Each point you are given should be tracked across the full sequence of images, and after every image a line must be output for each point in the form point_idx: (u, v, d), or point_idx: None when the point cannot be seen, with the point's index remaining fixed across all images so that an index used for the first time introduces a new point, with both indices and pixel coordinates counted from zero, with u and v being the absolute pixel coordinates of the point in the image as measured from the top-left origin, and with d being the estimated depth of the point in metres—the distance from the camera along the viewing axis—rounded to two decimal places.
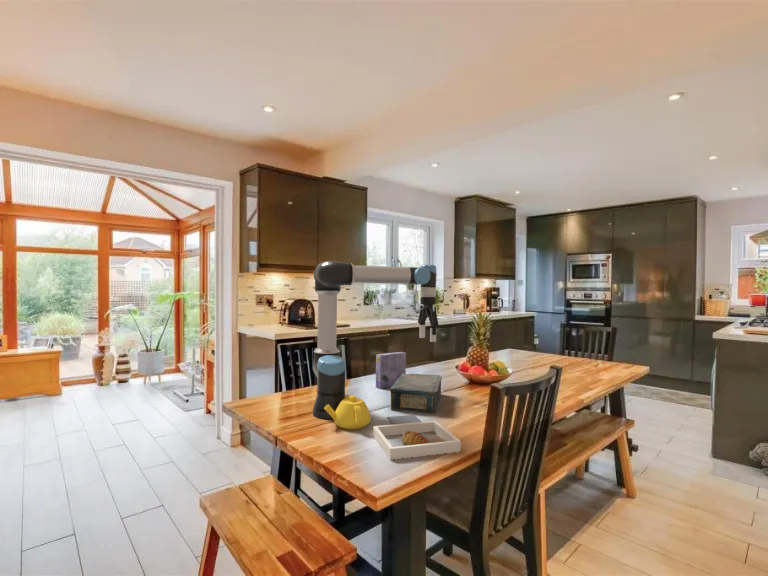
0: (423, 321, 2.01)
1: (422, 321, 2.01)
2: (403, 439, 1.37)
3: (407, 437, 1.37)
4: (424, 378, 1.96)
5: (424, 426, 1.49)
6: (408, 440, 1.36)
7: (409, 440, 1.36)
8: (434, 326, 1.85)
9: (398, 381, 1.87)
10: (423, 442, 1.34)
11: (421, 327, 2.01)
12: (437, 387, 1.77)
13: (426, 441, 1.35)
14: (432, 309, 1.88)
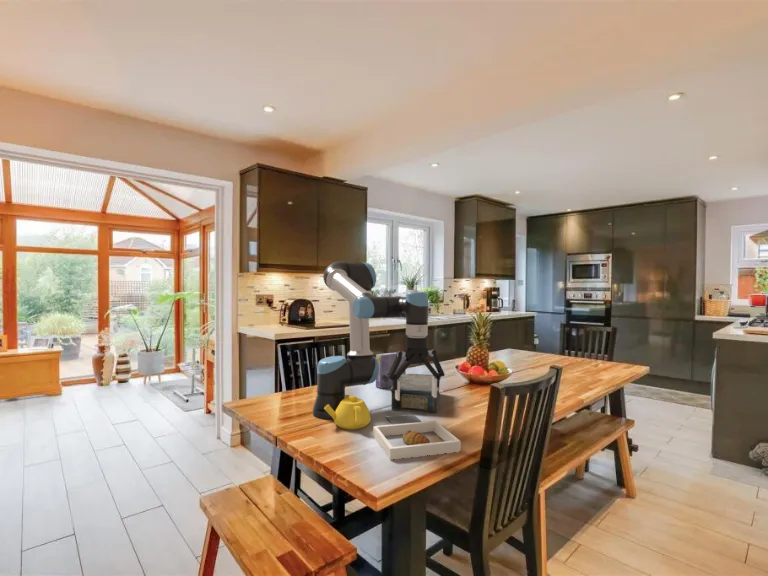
0: (432, 373, 1.39)
1: (431, 372, 1.40)
2: (404, 438, 1.38)
3: (408, 437, 1.37)
4: (423, 378, 1.96)
5: (424, 426, 1.49)
6: (409, 439, 1.37)
7: (411, 439, 1.36)
8: None
9: None
10: (425, 441, 1.35)
11: (432, 380, 1.40)
12: (437, 387, 1.78)
13: (427, 440, 1.36)
14: (397, 354, 1.36)
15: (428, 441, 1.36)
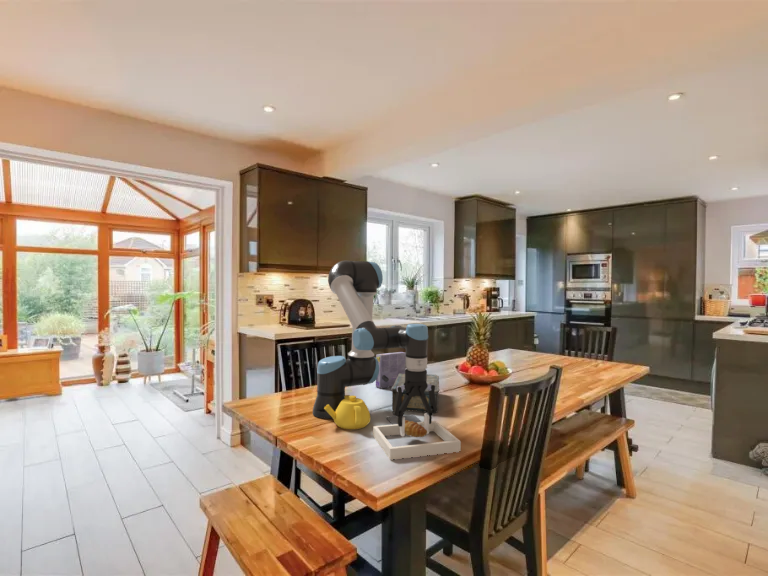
0: (425, 408, 1.39)
1: (425, 407, 1.40)
2: None
3: (405, 426, 1.38)
4: None
5: None
6: (406, 429, 1.37)
7: (407, 429, 1.37)
8: None
9: (397, 381, 1.87)
10: (421, 431, 1.36)
11: (425, 417, 1.40)
12: (438, 386, 1.78)
13: (424, 430, 1.37)
14: (396, 389, 1.37)
15: (425, 431, 1.37)
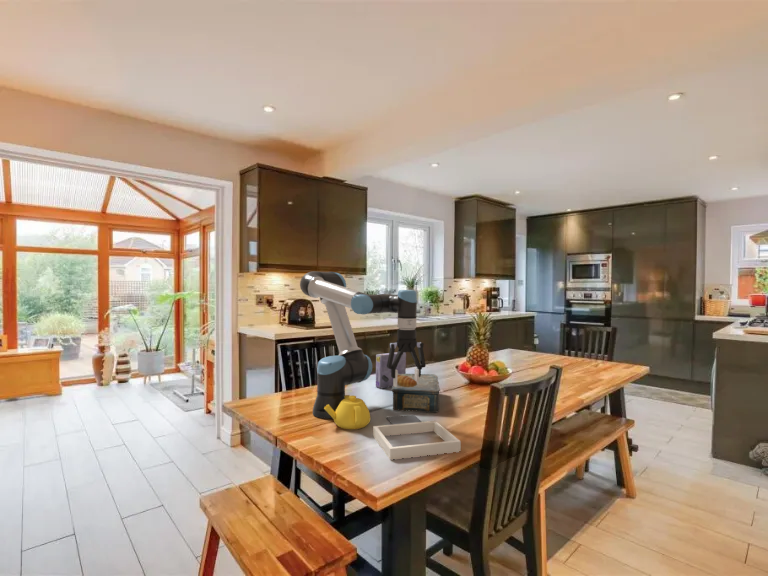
0: (415, 363, 1.60)
1: (415, 362, 1.60)
2: None
3: (398, 379, 1.59)
4: (420, 378, 1.97)
5: (424, 426, 1.49)
6: (399, 381, 1.58)
7: (400, 381, 1.58)
8: (387, 367, 1.58)
9: None
10: (412, 382, 1.57)
11: (415, 371, 1.61)
12: (438, 386, 1.78)
13: (414, 381, 1.58)
14: (390, 346, 1.58)
15: (415, 382, 1.58)
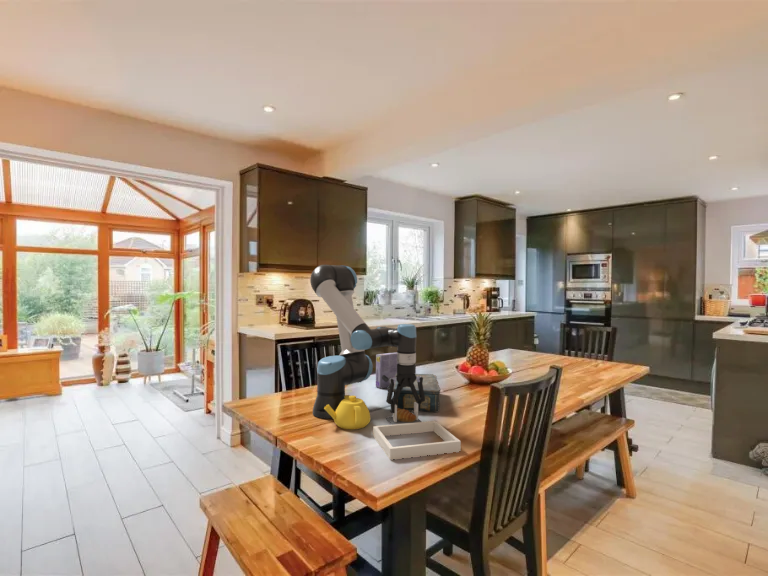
0: (415, 397, 1.60)
1: None
2: None
3: (398, 413, 1.59)
4: None
5: (424, 426, 1.49)
6: (398, 415, 1.58)
7: (399, 415, 1.58)
8: (386, 401, 1.58)
9: (396, 381, 1.87)
10: (411, 416, 1.57)
11: (414, 405, 1.61)
12: (438, 386, 1.79)
13: (413, 416, 1.58)
14: (389, 381, 1.58)
15: (414, 417, 1.58)
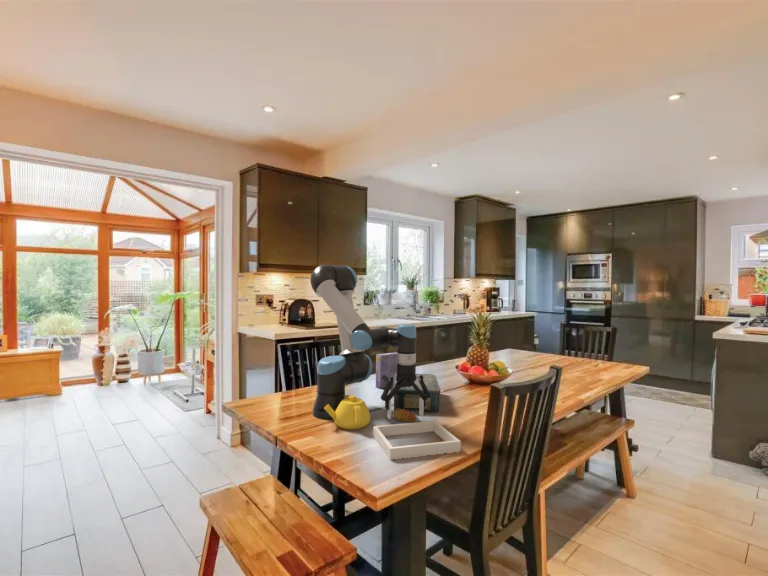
0: (419, 394, 1.61)
1: (419, 394, 1.61)
2: (394, 415, 1.60)
3: (398, 413, 1.59)
4: None
5: (424, 426, 1.49)
6: (398, 415, 1.58)
7: (399, 415, 1.58)
8: None
9: (396, 381, 1.86)
10: (411, 416, 1.57)
11: (420, 401, 1.62)
12: (438, 386, 1.79)
13: (414, 416, 1.58)
14: (389, 378, 1.58)
15: (414, 417, 1.58)
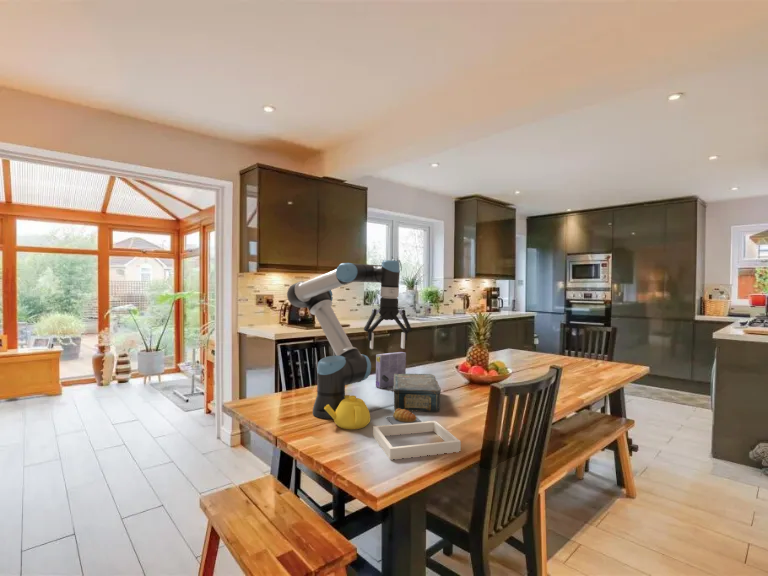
0: (401, 328, 1.68)
1: (401, 328, 1.68)
2: (394, 415, 1.60)
3: (398, 413, 1.59)
4: (418, 377, 1.97)
5: (424, 426, 1.49)
6: (398, 415, 1.58)
7: (399, 415, 1.58)
8: (364, 329, 1.64)
9: (396, 381, 1.86)
10: (411, 416, 1.57)
11: (401, 335, 1.69)
12: (438, 386, 1.79)
13: (414, 416, 1.58)
14: (372, 311, 1.65)
15: (414, 417, 1.58)
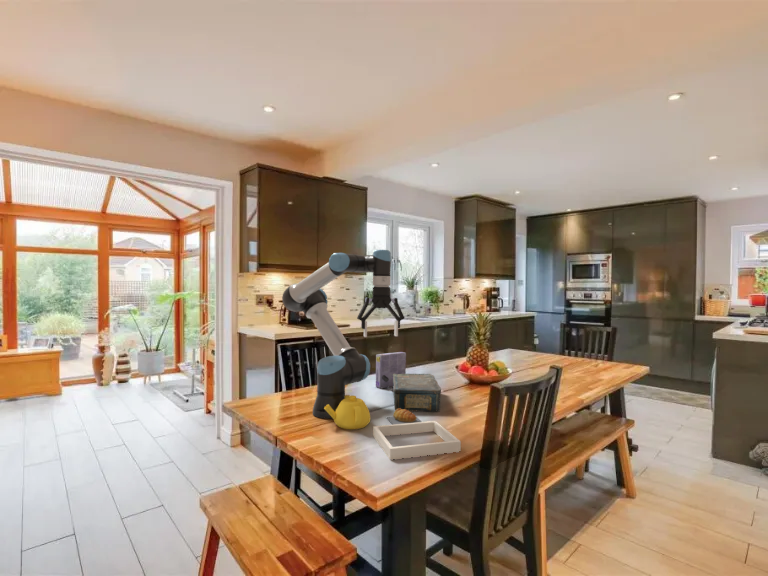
0: (394, 316, 1.71)
1: (394, 316, 1.71)
2: (394, 415, 1.60)
3: (398, 413, 1.59)
4: (417, 377, 1.97)
5: (424, 426, 1.49)
6: (399, 415, 1.59)
7: (399, 415, 1.58)
8: (357, 318, 1.67)
9: (396, 382, 1.86)
10: (411, 416, 1.57)
11: (394, 323, 1.72)
12: (438, 386, 1.80)
13: (414, 416, 1.58)
14: (365, 300, 1.68)
15: (414, 417, 1.57)
